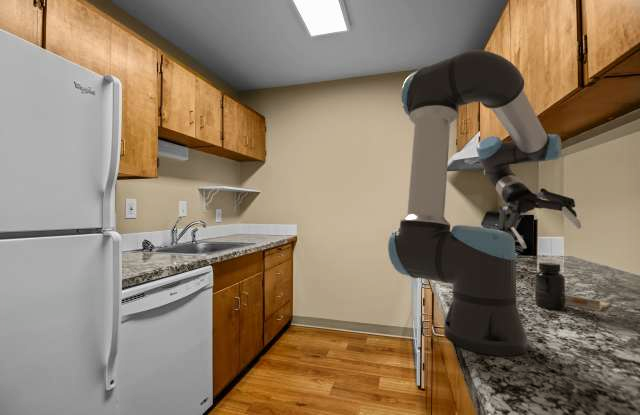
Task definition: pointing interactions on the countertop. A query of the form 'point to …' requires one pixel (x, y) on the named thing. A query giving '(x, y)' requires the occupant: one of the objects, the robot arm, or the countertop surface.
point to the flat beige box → (586, 303)
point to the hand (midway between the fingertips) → (551, 235)
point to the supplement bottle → (550, 287)
